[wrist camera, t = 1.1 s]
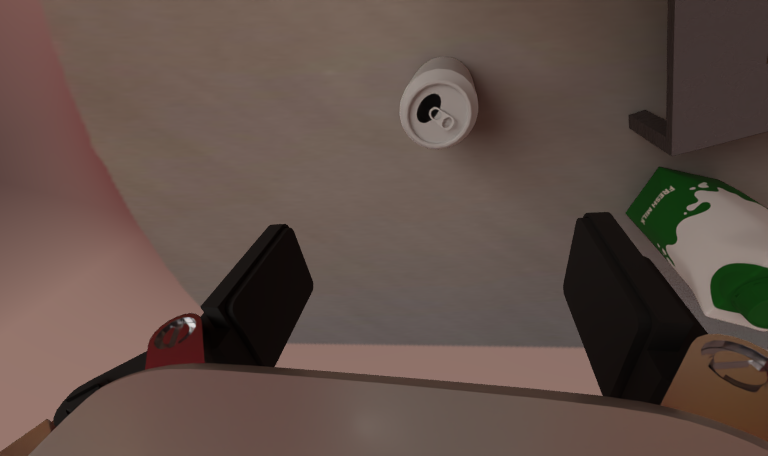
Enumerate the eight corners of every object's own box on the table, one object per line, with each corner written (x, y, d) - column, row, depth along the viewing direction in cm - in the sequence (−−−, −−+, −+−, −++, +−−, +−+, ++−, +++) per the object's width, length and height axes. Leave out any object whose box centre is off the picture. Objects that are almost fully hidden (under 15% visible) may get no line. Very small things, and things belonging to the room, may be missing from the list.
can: (434, 41, 36) (426, 52, 26) (486, 79, 37) (498, 103, 28) (399, 100, 40) (382, 128, 31) (447, 132, 42) (445, 169, 32)
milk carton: (655, 158, 39) (801, 264, 22) (732, 174, 38) (938, 295, 22) (614, 217, 44) (708, 338, 28) (681, 232, 43) (817, 365, 27)
